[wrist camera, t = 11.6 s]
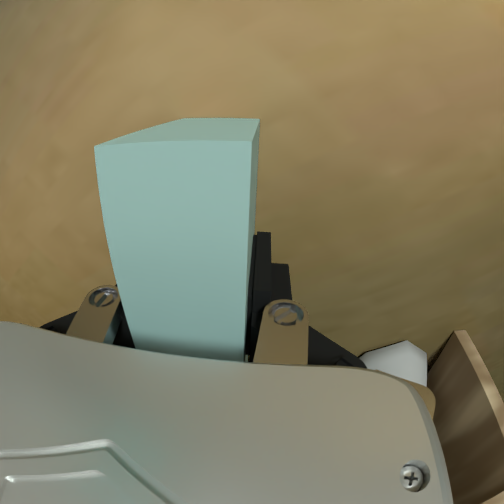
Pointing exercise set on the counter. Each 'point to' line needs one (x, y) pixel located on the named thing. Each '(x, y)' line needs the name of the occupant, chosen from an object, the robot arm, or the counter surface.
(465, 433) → the wooden corner bracket
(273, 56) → the counter surface
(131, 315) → the block
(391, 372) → the flask
